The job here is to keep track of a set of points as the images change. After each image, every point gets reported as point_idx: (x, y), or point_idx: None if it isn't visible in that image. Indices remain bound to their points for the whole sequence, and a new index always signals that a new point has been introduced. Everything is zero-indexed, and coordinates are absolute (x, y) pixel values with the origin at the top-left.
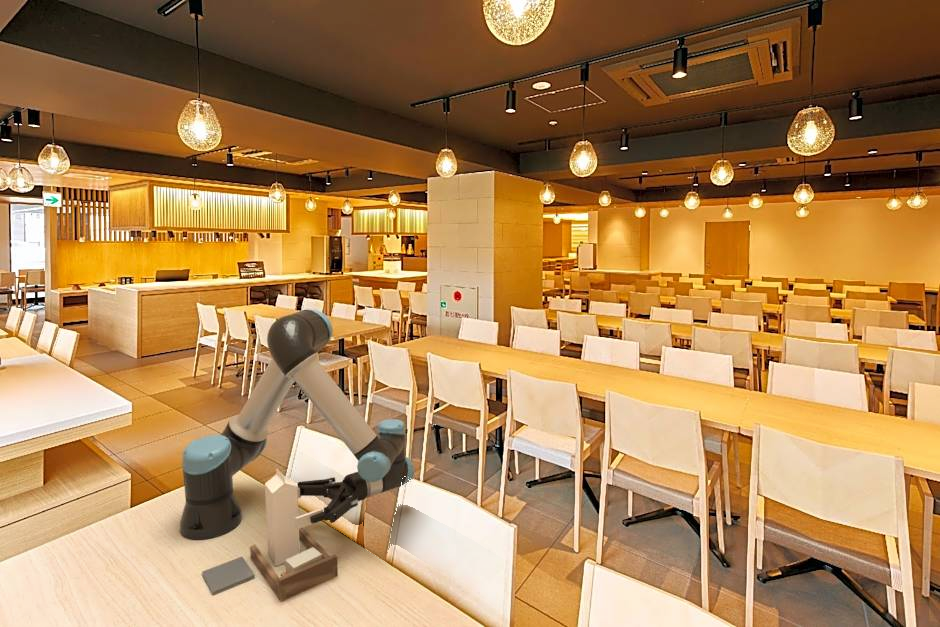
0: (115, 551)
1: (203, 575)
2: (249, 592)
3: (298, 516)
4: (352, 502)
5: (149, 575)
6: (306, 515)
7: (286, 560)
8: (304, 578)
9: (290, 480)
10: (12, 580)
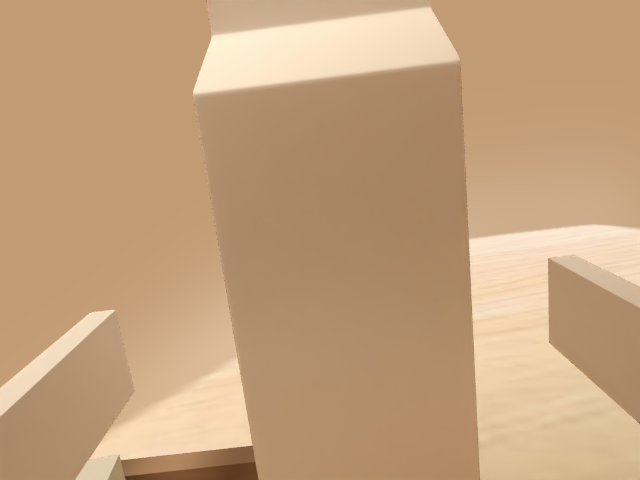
0: (620, 273)
1: None
2: (222, 448)
3: (103, 319)
4: None
5: (479, 309)
6: (48, 351)
7: (109, 458)
8: None
9: (339, 63)
10: (547, 231)
